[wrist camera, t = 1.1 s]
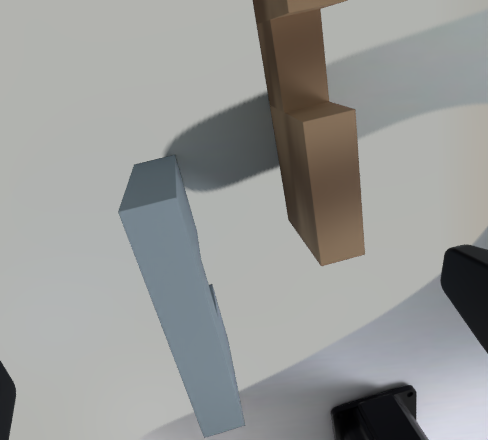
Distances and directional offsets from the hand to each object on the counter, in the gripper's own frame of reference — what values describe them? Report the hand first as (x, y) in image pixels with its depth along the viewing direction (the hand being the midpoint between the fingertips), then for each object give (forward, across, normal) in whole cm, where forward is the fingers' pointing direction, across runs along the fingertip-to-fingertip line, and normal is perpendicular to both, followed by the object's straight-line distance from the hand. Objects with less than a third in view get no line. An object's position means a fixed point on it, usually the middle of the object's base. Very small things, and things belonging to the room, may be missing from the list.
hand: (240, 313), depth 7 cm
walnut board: (+12, -5, -3) cm, 14 cm away
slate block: (+12, +1, +6) cm, 14 cm away
